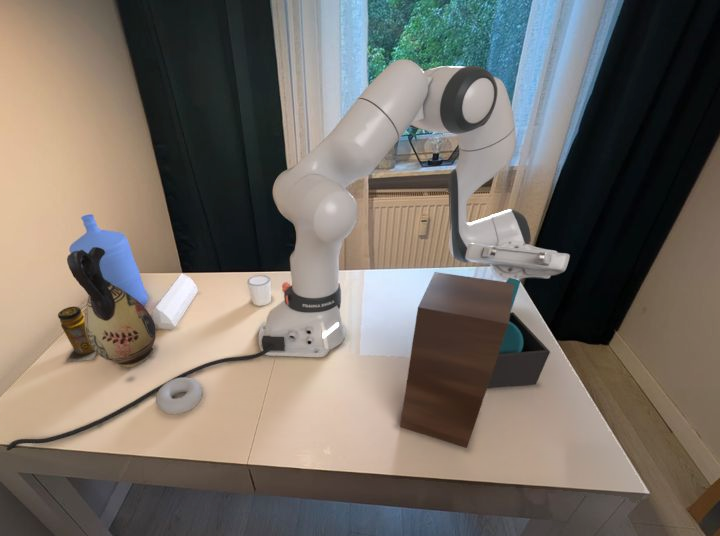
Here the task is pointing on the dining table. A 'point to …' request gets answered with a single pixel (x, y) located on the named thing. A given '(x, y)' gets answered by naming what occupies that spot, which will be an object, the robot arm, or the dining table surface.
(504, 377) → the dark grey open box
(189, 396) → the donut
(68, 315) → the condiment
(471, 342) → the walnut wood pedestal
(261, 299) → the shot glass
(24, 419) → the dining table surface
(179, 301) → the white hexagonal prism
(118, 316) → the ceramic jug
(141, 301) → the water jug
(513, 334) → the cup
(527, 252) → the robot arm
